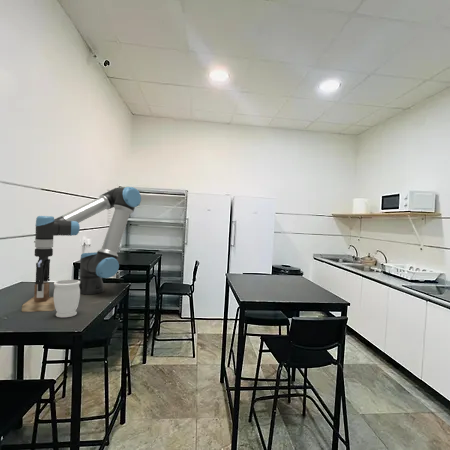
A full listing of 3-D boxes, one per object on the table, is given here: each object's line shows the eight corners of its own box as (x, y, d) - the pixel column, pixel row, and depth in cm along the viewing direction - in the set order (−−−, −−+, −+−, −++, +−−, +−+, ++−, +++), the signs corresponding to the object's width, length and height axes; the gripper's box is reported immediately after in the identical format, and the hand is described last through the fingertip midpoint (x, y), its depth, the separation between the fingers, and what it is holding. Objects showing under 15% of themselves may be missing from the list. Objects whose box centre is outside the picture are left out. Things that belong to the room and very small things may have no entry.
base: (61, 302, 155) (61, 296, 155) (53, 310, 142) (53, 303, 142) (32, 303, 152) (32, 296, 152) (21, 311, 138) (21, 304, 138)
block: (49, 298, 150) (49, 282, 150) (45, 301, 145) (46, 284, 145) (37, 299, 148) (38, 282, 148) (34, 301, 144) (34, 285, 143)
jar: (51, 319, 130) (52, 285, 130) (54, 312, 140) (55, 280, 139) (79, 317, 134) (79, 283, 134) (79, 310, 144) (80, 279, 144)
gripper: (41, 245, 154) (39, 291, 154) (28, 249, 136) (26, 301, 137) (57, 246, 156) (55, 291, 156) (47, 250, 138) (44, 300, 139)
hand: (42, 295), depth 147 cm, fingers closed on block, 5 cm apart
